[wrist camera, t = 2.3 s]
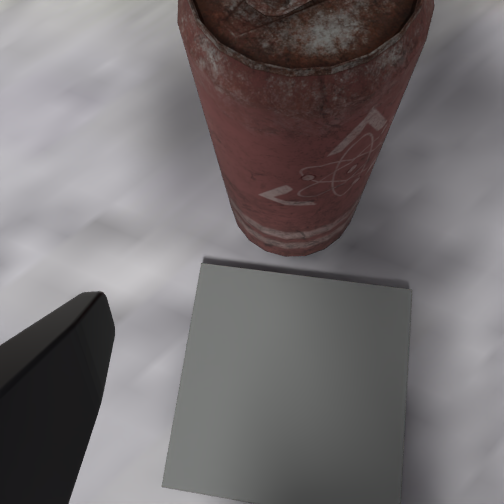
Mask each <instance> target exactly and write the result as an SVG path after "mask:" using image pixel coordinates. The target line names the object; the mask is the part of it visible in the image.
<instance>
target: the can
mask: <svg viewBox="0 0 504 504" xmlns="http://www.w3.org/2000/svg"><path fill="white" fill-rule="evenodd" d="M433 10H434V0H178V26H179V29H180V33H181V36H182V39H183V43H184V46H185V50H186V53H187V57H188V60H189V63H190V67H191V70H192V74H193V77H194V81H195V84H196V87H197V91H198V94H199V98H200V101H201V105H202V108H203V112H204V115H205V118H206V122H207V125H208V129H209V132H210V136H211V139H212V142H213V146H214V149H215V153H216V156H217V160H218V163H219V166H220V170H221V173H222V177H223V180H224V184H225V187H226V191H227V194H228V197H229V201H230V204H231V208H232V211H233V213H234V216H235V219H236V222H237V225H238V227H239V228H240V229H241V230H242V232H243V233H244V234H245V235H246V237H247V238H248V239H249V240H250V241H251V242H253V243H254V244H256V245H257V246H259V247H260V248H262V249H263V250H265V251H267V252H271V253H275V254H278V255H282V256H306V255H309V254H312V253H315V252H318V251H320V250H323V249H325V248H326V247H328V246H329V245H330V244H332V243H333V242H334V241H336V240H337V239H338V238H340V236H341V235H342V233H343V232H344V231H345V229H346V228H347V226H348V225H349V223H350V222H351V219H352V217H353V215H354V212H355V210H356V207H357V205H358V203H359V200H360V198H361V195H362V193H363V191H364V188H365V186H366V183H367V181H368V178H369V176H370V174H371V171H372V169H373V166H374V164H375V162H376V159H377V157H378V154H379V152H380V150H381V147H382V145H383V142H384V140H385V138H386V135H387V133H388V130H389V128H390V126H391V123H392V121H393V118H394V116H395V114H396V111H397V109H398V106H399V104H400V102H401V99H402V97H403V94H404V92H405V90H406V87H407V85H408V82H409V80H410V78H411V75H412V73H413V70H414V68H415V66H416V63H417V61H418V58H419V56H420V54H421V51H422V49H423V46H424V44H425V41H426V39H427V35H428V30H429V26H430V22H431V18H432V14H433Z"/></svg>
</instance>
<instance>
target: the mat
mask: <svg viewBox="0 0 504 504" xmlns="http://www.w3.org/2000/svg"><path fill="white" fill-rule="evenodd" d="M411 301H412V289H404V288H396V287H388V286H380V285H372V284H364V283H356V282H348V281H340V280H332V279H324V278H316V277H308V276H300V275H292V274H285V273H277V272H269V271H261V270H253V269H245V268H237V267H229V266H221V265H213V264H205V263H201V268H200V273H199V279H198V285H197V290H196V296H195V302H194V307H193V313H192V318H191V324H190V330H189V335H188V341H187V347H186V352H185V358H184V364H183V369H182V375H181V380H180V386H179V392H178V397H177V403H176V409H175V414H174V420H173V425H172V431H171V437H170V442H169V448H168V454H167V459H166V465H165V471H164V476H163V482H162V487H164V488H170V489H175V490H181V491H187V492H192V493H198V494H204V495H209V496H215V497H221V498H227V499H232V500H238V501H244V502H249V503H255V504H400V503H401V485H402V466H403V448H404V430H405V411H406V393H407V375H408V356H409V338H410V320H411Z"/></svg>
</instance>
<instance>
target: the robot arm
mask: <svg viewBox="0 0 504 504" xmlns="http://www.w3.org/2000/svg"><path fill="white" fill-rule="evenodd" d="M114 337H115V326H114V322H113V318H112V315H111V311H110V307H109V304H108V300H107V297H106V295H105V294H104V293H103V292H101V291H97V292H84V293H81V294H79V295H78V296H76V297H75V298H73V299H71V300H70V301H68V302H67V303H65V304H64V305H62V306H61V307H59V308H57V309H56V310H54V311H53V312H51V313H50V314H48V315H47V316H45V317H44V318H42V319H40V320H39V321H37V322H36V323H34V324H33V325H31V326H30V327H28V328H26V329H25V330H23V331H22V332H20V333H19V334H17V335H16V336H14V337H12V338H11V339H9V340H8V341H6V342H5V343H3V344H2V345H0V504H69V501H70V498H71V494H72V491H73V488H74V485H75V482H76V479H77V476H78V473H79V470H80V467H81V464H82V461H83V458H84V455H85V452H86V449H87V446H88V443H89V440H90V436H91V433H92V430H93V427H94V424H95V421H96V418H97V415H98V412H99V408H100V405H101V401H102V397H103V392H104V387H105V382H106V377H107V372H108V367H109V362H110V357H111V352H112V347H113V342H114Z"/></svg>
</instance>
